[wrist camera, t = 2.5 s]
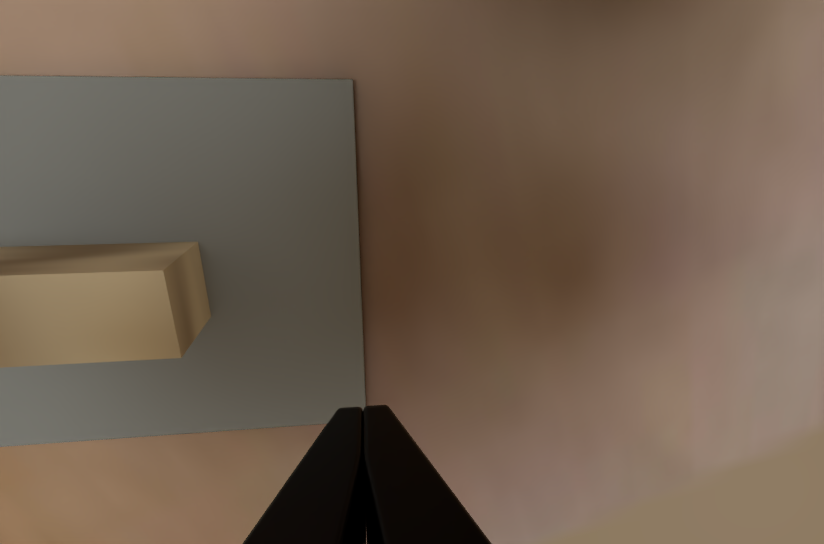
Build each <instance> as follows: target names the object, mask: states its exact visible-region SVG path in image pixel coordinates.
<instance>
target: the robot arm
mask: <svg viewBox="0 0 824 544" xmlns="http://www.w3.org/2000/svg"><path fill="white" fill-rule="evenodd" d="M366 530H367V544H491V542H490V541H489V540H488V538H487V537H486V536H485V534H484V533H483V532H482V530H481V529H480V528H479V526H478V525H477V524H476V522H475V521H474V520H473V518H472V517H471V516H470V514H469V513H468V512H467V510H466V509H465V508H464V506H463V505H462V504H461V502H460V501H459V500H458V498H457V497H456V496H455V494H454V493H453V492H452V490H451V489H450V488H449V486H448V485H447V484H446V482H445V481H444V480H443V478H442V477H441V476H440V474H439V473H438V472H437V470H436V469H435V468H434V466H433V465H432V464H431V462H430V461H429V460H428V458H427V457H426V456H425V454H424V453H423V452H422V450H421V449H420V448H419V446H418V445H417V444H416V442H415V441H414V440H413V438H412V437H411V436H410V434H409V433H408V432H407V430H406V429H405V428H404V426H403V425H402V424H401V422H400V421H399V420H398V418H397V417H396V416H395V414H394V413H393V412H392V410H391V409H390V408H389V407H388V406H387V405H374V406H366V407H364V409H362V408H361V407H344V408H339V409H337V411H336V412H335V413H334V415H333V416H332V418H331V419H330V420H329V422H328V423H327V425H326V426H325V428H324V429H323V430H322V432H321V433H320V435H319V436H318V437H317V439H316V440H315V442H314V443H313V445H312V446H311V447H310V449H309V450H308V452H307V453H306V455H305V456H304V457H303V459H302V460H301V462H300V463H299V464H298V466H297V467H296V469H295V470H294V472H293V473H292V474H291V476H290V477H289V479H288V480H287V481H286V483H285V484H284V486H283V487H282V489H281V490H280V491H279V493H278V494H277V496H276V497H275V499H274V500H273V501H272V503H271V504H270V506H269V507H268V508H267V510H266V511H265V513H264V514H263V516H262V517H261V518H260V520H259V521H258V523H257V524H256V525H255V527H254V528H253V530H252V531H251V533H250V534H249V535H248V537H247V538H246V540H245V541H244V543H243V544H366Z"/></svg>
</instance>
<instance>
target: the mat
mask: <svg viewBox="0 0 824 544" xmlns="http://www.w3.org/2000/svg"><path fill="white" fill-rule="evenodd" d="M166 242H198V245H199V250H200V256H201V262H202V268H203V273H204V279H205V285H206V290H207V296H208V302H209V308H210V313H211V317H210V319H209V320H208V322H207V323H206V324H205V326H204V327H203V329H202V330H201V331H200V333H199V334H198V336H197V337H196V338H195V340H194V341H193V343H192V344H191V345H190V347H189V348H188V349H187V351H186V352H185V354H184V355H183V356H182V358H172V359H153V360H135V361H116V362H97V363H78V364H59V365H41V366H22V367H3V368H0V447H4V446H18V445H32V444H46V443H61V442H75V441H89V440H103V439H117V438H131V437H146V436H160V435H174V434H188V433H202V432H217V431H231V430H245V429H259V428H273V427H287V426H302V425H316V424H327V423H328V422H329V420H330V419H331V418H332V416H333V415H334V413H335V412H336V411H337V409H339V408H344V407H361V408H362V409H364V407H366V398H365V373H364V348H363V323H362V298H361V273H360V248H359V223H358V198H357V173H356V148H355V124H354V99H353V79H266V78H174V77H82V76H0V247H16V246H54V245H91V244H129V243H166Z"/></svg>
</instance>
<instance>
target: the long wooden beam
mask: <svg viewBox="0 0 824 544" xmlns="http://www.w3.org/2000/svg"><path fill="white" fill-rule="evenodd" d="M210 317H211V313H210V308H209V302H208V296H207V290H206V285H205V279H204V273H203V268H202V262H201V256H200V250H199V245H198V242H166V243H129V244H91V245H54V246H16V247H0V368H3V367H22V366H41V365H59V364H78V363H97V362H116V361H135V360H153V359H172V358H182V356H183V355H184V354H185V352H186V351H187V349H188V348H189V347H190V345H191V344H192V343H193V341H194V340H195V338H196V337H197V336H198V334H199V333H200V331H201V330H202V329H203V327H204V326H205V324H206V323H207V322H208V320H209V319H210Z"/></svg>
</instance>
